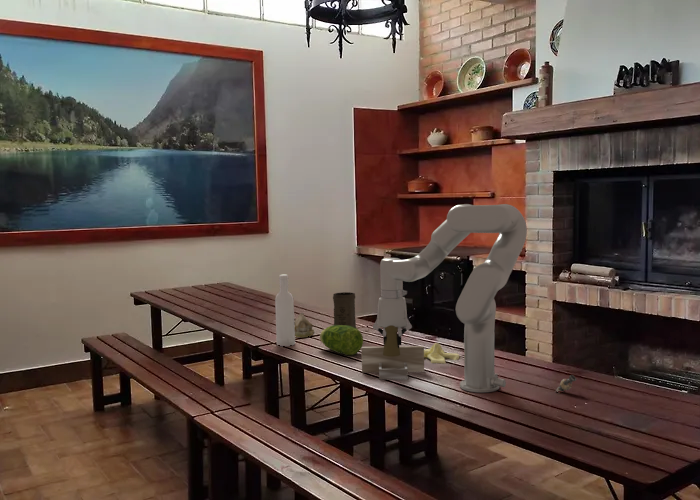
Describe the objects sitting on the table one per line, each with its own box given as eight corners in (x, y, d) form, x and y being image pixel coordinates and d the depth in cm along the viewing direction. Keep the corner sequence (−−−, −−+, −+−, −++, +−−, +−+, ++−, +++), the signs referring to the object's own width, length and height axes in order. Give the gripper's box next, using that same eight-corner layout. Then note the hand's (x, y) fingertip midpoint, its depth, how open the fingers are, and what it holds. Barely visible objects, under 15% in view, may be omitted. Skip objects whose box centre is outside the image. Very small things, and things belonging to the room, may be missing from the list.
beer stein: (357, 339, 281) (356, 293, 281) (332, 340, 282) (331, 294, 281) (357, 334, 297) (356, 291, 296) (334, 334, 297) (333, 291, 297)
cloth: (433, 349, 262) (433, 335, 262) (470, 357, 249) (470, 341, 248) (395, 360, 247) (395, 344, 247) (433, 369, 234) (433, 352, 233)
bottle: (298, 343, 277) (296, 274, 274) (287, 347, 270) (285, 276, 268) (284, 341, 281) (281, 273, 279) (272, 345, 275) (270, 275, 272)
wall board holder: (362, 371, 230) (361, 346, 230) (424, 371, 229) (423, 346, 228) (361, 379, 220) (360, 353, 220) (425, 379, 219) (425, 353, 218)
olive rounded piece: (399, 356, 219) (399, 324, 218) (381, 356, 220) (381, 324, 219) (401, 352, 224) (400, 321, 223) (384, 352, 226) (383, 321, 225)
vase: (579, 392, 201) (579, 374, 200) (571, 398, 197) (571, 379, 196) (563, 388, 205) (562, 370, 204) (555, 394, 201) (554, 375, 200)
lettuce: (333, 345, 271) (332, 319, 270) (367, 353, 256) (367, 325, 255) (312, 350, 264) (311, 323, 263) (346, 359, 249) (345, 330, 248)
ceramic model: (289, 332, 301) (288, 311, 300) (312, 330, 304) (312, 309, 303) (292, 338, 288) (292, 316, 287) (317, 336, 290) (316, 315, 289)
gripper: (415, 292, 223) (416, 344, 225) (367, 292, 224) (368, 344, 226) (416, 295, 216) (417, 349, 218) (367, 296, 217) (368, 350, 219)
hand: (392, 346), depth 222 cm, fingers closed on olive rounded piece, 3 cm apart
